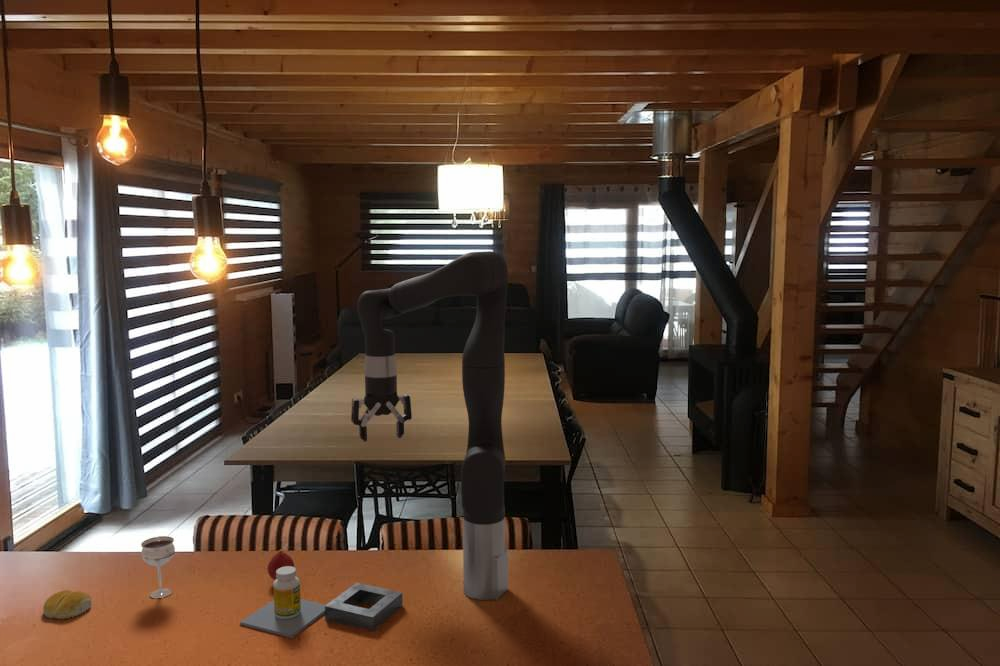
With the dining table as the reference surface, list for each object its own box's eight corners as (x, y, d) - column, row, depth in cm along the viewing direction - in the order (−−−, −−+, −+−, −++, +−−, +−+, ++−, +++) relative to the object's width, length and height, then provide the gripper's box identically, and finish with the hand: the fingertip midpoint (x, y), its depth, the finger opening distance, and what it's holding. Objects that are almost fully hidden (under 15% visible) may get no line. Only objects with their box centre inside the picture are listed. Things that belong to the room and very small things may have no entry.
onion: (263, 583, 178) (261, 549, 177) (285, 574, 183) (284, 542, 181) (277, 591, 174) (275, 557, 173) (299, 582, 179) (298, 549, 178)
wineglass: (137, 598, 171) (133, 545, 170) (160, 584, 178) (157, 534, 176) (161, 603, 169) (158, 550, 167) (184, 589, 175) (181, 538, 174)
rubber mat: (330, 608, 167) (330, 606, 166) (291, 638, 155) (291, 635, 155) (281, 597, 172) (281, 594, 172) (240, 624, 160) (240, 621, 160)
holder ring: (402, 605, 168) (402, 592, 167) (372, 631, 157) (372, 617, 157) (356, 595, 173) (356, 582, 172) (325, 619, 162) (324, 605, 162)
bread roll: (64, 599, 171) (62, 582, 170) (98, 604, 169) (97, 587, 168) (33, 617, 163) (31, 599, 163) (69, 623, 161) (67, 605, 160)
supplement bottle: (278, 607, 166) (276, 564, 164) (303, 607, 166) (301, 564, 165) (271, 620, 160) (269, 576, 159) (297, 619, 161) (296, 575, 159)
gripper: (354, 378, 181) (356, 446, 183) (414, 373, 186) (414, 440, 188) (347, 372, 187) (349, 438, 190) (405, 368, 193) (406, 432, 195)
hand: (382, 439), depth 189 cm, fingers open, 8 cm apart
